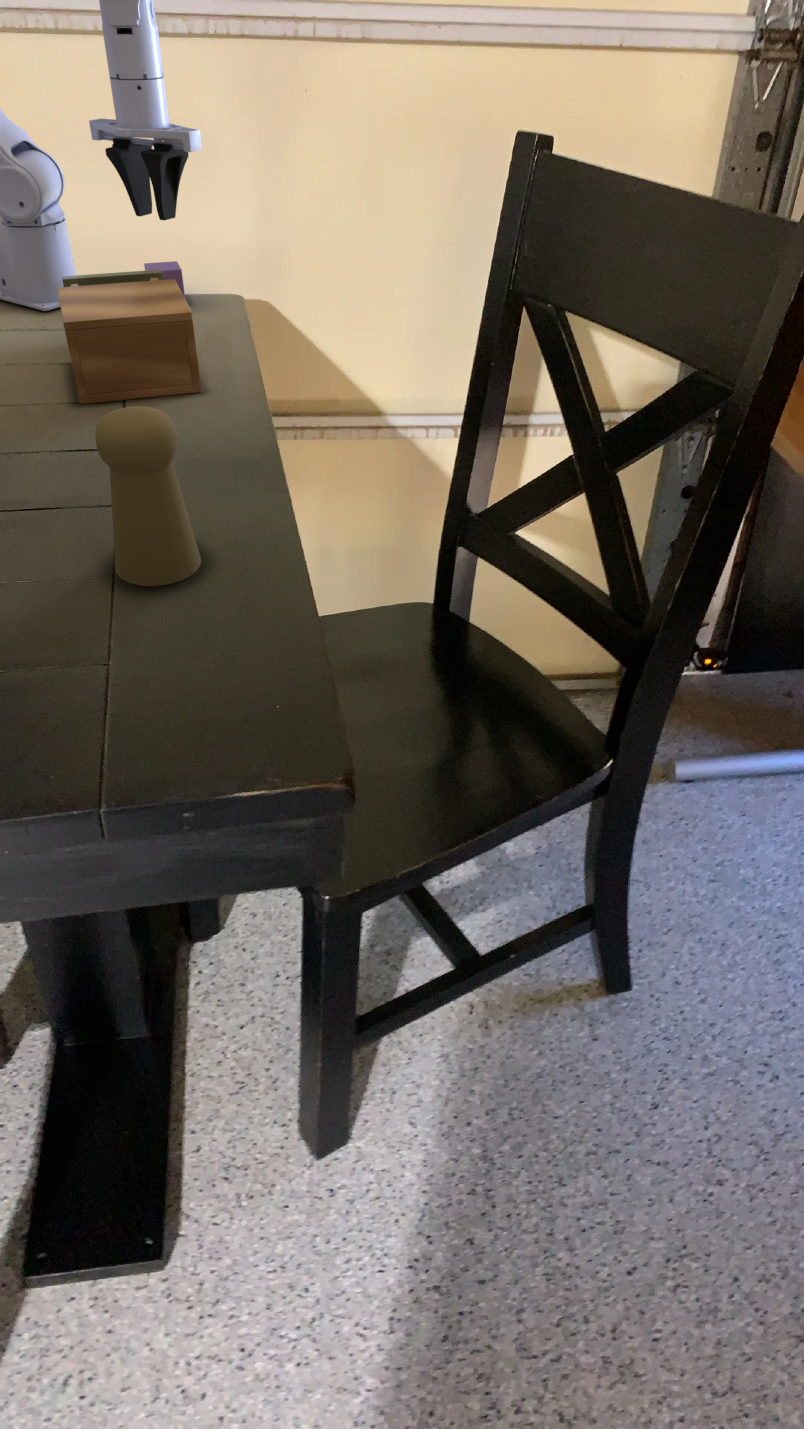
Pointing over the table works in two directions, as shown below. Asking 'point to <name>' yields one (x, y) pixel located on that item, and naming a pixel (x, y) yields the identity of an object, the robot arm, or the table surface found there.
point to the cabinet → (130, 340)
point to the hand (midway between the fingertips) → (155, 216)
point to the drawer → (112, 278)
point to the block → (168, 272)
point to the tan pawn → (146, 498)
